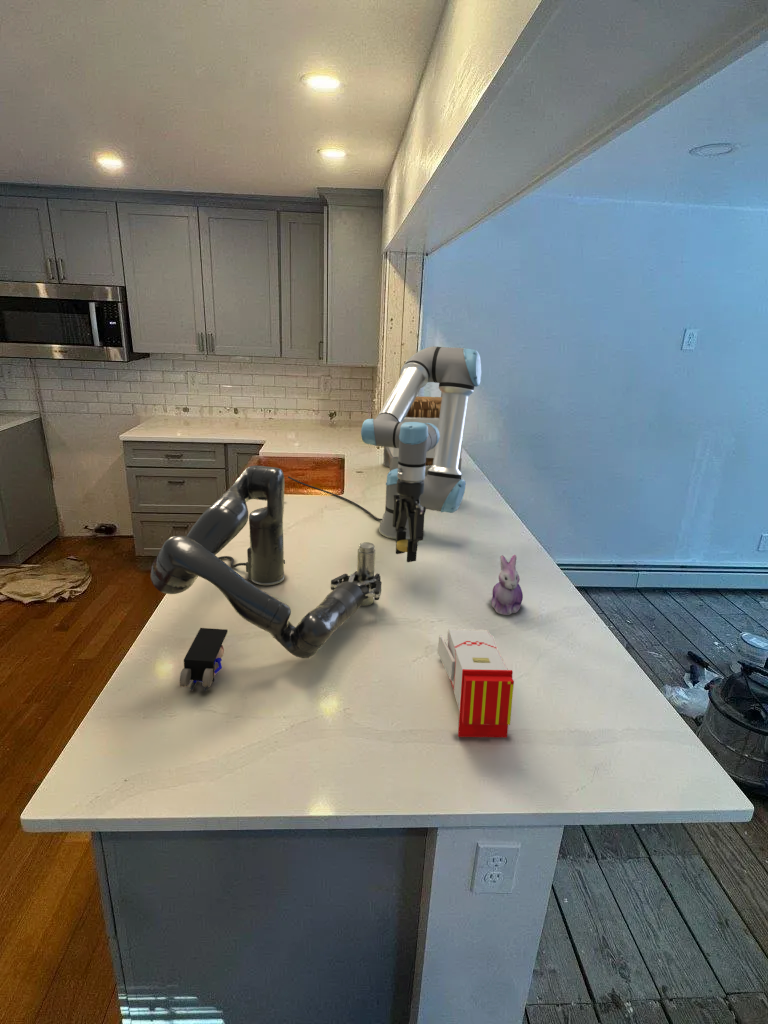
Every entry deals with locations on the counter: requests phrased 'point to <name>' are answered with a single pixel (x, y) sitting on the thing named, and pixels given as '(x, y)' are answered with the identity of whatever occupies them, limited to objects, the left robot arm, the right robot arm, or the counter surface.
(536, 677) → the counter surface
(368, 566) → the bottle
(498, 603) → the figurine
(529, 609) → the counter surface
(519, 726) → the counter surface
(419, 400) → the white wooden crate
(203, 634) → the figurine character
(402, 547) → the lid
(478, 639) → the toy
